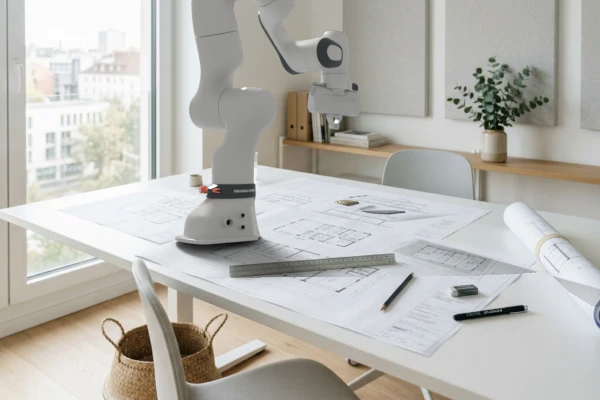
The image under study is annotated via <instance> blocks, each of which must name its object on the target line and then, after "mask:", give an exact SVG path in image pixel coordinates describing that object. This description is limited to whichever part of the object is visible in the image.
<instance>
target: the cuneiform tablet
mask: <svg viewBox="0 0 600 400" xmlns="http://www.w3.org/2000/svg"><path fill="white" fill-rule="evenodd" d="M367 196H368V195H367V194H364V195H363V194H362V195H353V196H349V198H350V199H339V200H335V201H334V203H335V204H338V205H342V206H346V207H348V206H353V205H357V204H360V202H359V201H358V200H353V199H351V198H359V197H360V198H361V197H367Z"/></svg>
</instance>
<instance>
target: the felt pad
mask: <svg viewBox="0 0 600 400" xmlns="http://www.w3.org/2000/svg"><path fill="white" fill-rule="evenodd" d="M362 212H363V213H367V214H369V213H370V214H379V215H393V214H402V213H403V214H404V213H406V211H405V210H397V209H395V210H394V209H391V210H390V209H387V210H385V209H384V210H383V209H380V210H379V209H378V210H374V209H373V210H362Z"/></svg>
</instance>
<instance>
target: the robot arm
mask: <svg viewBox="0 0 600 400" xmlns="http://www.w3.org/2000/svg"><path fill="white" fill-rule="evenodd" d="M241 1H242V0H191V1H190V3H191V5H190V6H191V20H192V27H193V33H194V37H195V38H194V40H195V44H196V49H197V54H198V60H199V66H200V76H199V77H200V79H199V85H198V88H197V91H196V93H195V94H194V96H193V97H192V98H191V100H190V102H189V106H188V114H189V118H190V120H191V122H192V124H193V125H194V126H195V127H196V128H198V129H201V130H206V131H211V132H224V131H225V132H226V133H225V137H224V140H223V142H222V143H221V145H220V146H219V147H217V148H216V149H215V150H214V151H213V152H212V155H211V183H210V184H209V186H207V185H200V186H199V187H198V193H199V194H206V196H205V199H204V200H203V201H202V202H201V203H200V204H198V205H197V206H196V207H195V208H194V209H193V210H191V212H189V213H188V214H187V216H186V217H185V220H184V227H183V234H177V235H175V236H174V237H175V238H174V240H175V241H176V242H180V243H186V244H193V245H212V244H213V245H215V244H226V243H239V242H248V241H249V242H251V241H257V240H259V238H260V237H261V234H260V229H259V224H258V221H257V214H256V213H257V212H256V205H255V204H256V201H255V200H256V197H257V195H256V194H257V192H256V191H257V189H256V188H257V185H256V183H255V157H256V151H257V147H258V144H259V142H260V139H261V137H262V136H263V134H264V132H265V131H266V130H267V129H268V128H269V127H270V126H271V125H272V123H274V121H275V120H276V116H277V114H278V104H277V101H276V99H275V96H274V94H273V93H272V92H271V91H270V90H269V89H266V88H261V87H256V86H241V87H234V83H233V82H234V81H233V80H234V74H235V73H236V72H237V71H238V70H239V69H240V68H241V66H242V65H243V62H244V51H243V48H242V42H241V36H240V31H239V27H238V26H239V25H238V21H237V17H236V14H235V11H234V7H235V3H237V2H241ZM251 1H252V3H253V4H254V5H255V7H256V8H257V10H258V13H257V14H258V15H257V16H258V22H259V24H260V27H261V28H262V30H263V32H264V33H265V36H266V37H267V39H268V40H269V42H270V44H271V45H272V47H273V48H274V50H275V52H276V53H277V55H278V57H279V61H280V64H281V66H282V68H283V69H284V70H285V71H286V72H287V73H288V74H290V75H293V76H295V75H300V74H305V73H312V72H318V71H321V72H320V82H317V81H314V82H313V83H311V84H310V86H309V93H308V99H307V111H308V112H309V113H311V114H312V113H313V114H314V113H315V114H324V115H325V118H326V121H327V122H328V128H329V129H330V130H339V129H340V123H341V121H342V119H343V117H358V116H359V115H360V112H361V96H360V94H359V93H360V91H361V86H360V85H359V84H357V83H356V82H355V81H354V80H352V79H351V78H350V72H349V68H348V67H349V63H350V46H349V39H348V36H347V34H346V33H344V32H342V31H339V30H328V31H325V32H324V33H323V35H321V36H319V37H315V38H311V39H310V38H309V39H304V40H297V39H292V37H290V35H289V33H288V31H287V30H286V28H285V26H284V25H283V23H284V22H285V21H286V20H287V19H288V18H289V17H290V16H291V15H292V13H293V12H294V10H295V7H296V4H297V0H251ZM334 119H335V120H334Z"/></svg>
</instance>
